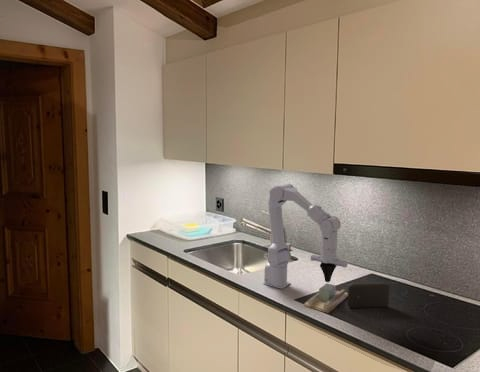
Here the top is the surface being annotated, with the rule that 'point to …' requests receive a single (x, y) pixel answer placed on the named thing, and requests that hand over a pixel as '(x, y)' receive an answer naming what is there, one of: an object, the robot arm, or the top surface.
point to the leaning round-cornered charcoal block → (368, 294)
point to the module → (327, 292)
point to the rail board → (324, 305)
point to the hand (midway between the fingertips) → (327, 281)
